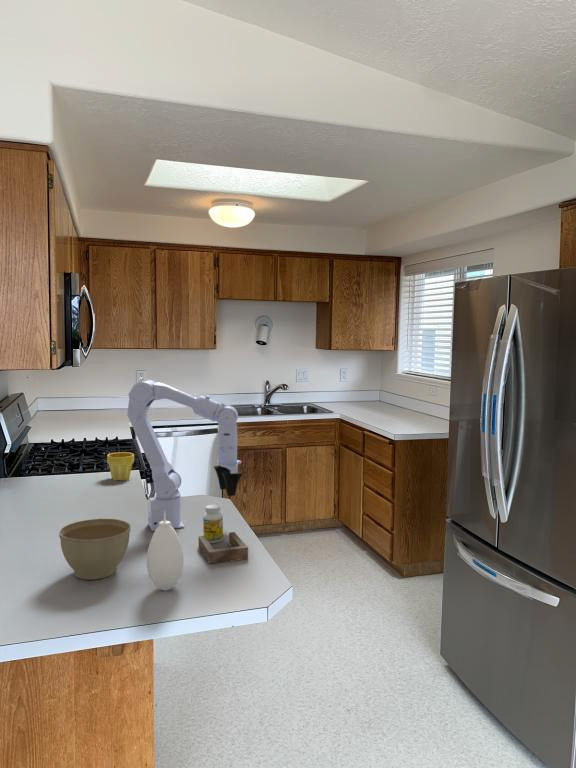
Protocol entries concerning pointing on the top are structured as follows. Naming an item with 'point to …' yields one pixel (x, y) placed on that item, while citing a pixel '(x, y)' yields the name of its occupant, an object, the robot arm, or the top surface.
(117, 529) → the planter bowl
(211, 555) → the u rest
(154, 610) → the top surface
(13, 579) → the top surface
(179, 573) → the sauce bottle
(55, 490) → the top surface
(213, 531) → the supplement bottle
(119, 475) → the plant pot
